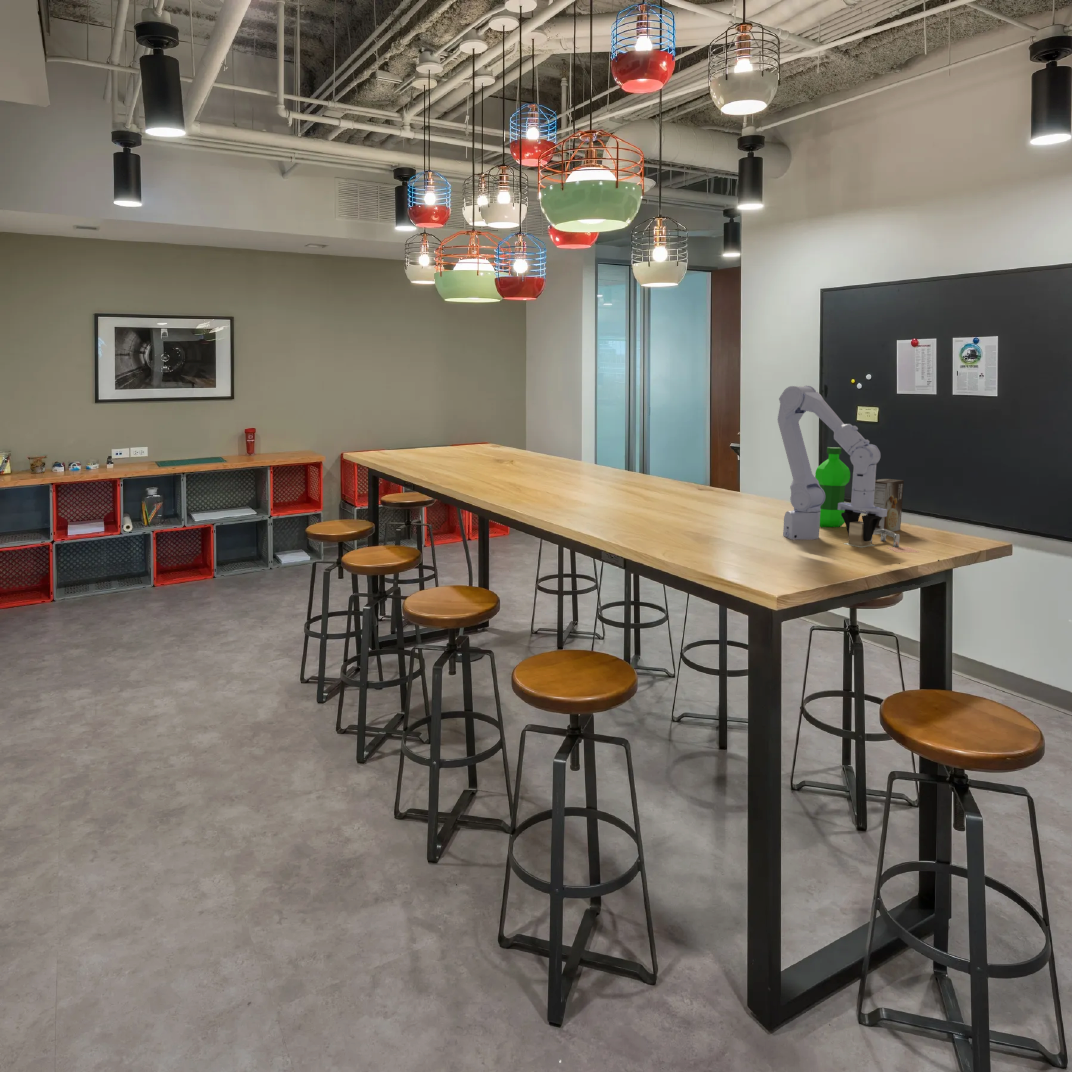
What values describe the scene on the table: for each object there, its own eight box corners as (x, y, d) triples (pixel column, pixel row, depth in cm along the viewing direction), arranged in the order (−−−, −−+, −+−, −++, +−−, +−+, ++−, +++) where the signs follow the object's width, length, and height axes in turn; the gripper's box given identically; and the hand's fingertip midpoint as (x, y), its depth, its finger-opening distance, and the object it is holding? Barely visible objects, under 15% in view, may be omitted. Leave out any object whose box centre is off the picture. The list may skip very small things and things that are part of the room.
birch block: (860, 546, 220) (862, 524, 219) (848, 543, 224) (849, 522, 223) (870, 544, 222) (871, 523, 221) (858, 542, 226) (859, 521, 225)
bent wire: (878, 548, 219) (879, 535, 218) (861, 541, 228) (862, 529, 227) (902, 547, 219) (903, 534, 219) (884, 540, 229) (885, 528, 228)
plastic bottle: (851, 531, 249) (857, 449, 244) (817, 531, 249) (822, 449, 245) (840, 525, 259) (845, 446, 254) (807, 525, 259) (811, 446, 254)
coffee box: (880, 530, 251) (885, 478, 248) (900, 533, 246) (905, 480, 243) (863, 533, 245) (867, 480, 242) (883, 536, 240) (887, 482, 237)
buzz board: (865, 558, 212) (866, 553, 211) (833, 543, 230) (833, 539, 229) (924, 556, 213) (924, 552, 213) (887, 542, 231) (887, 538, 231)
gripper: (896, 492, 216) (892, 542, 219) (851, 486, 228) (847, 533, 231) (878, 493, 213) (874, 544, 215) (833, 487, 225) (830, 536, 227)
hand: (859, 539), depth 223 cm, fingers open, 4 cm apart
